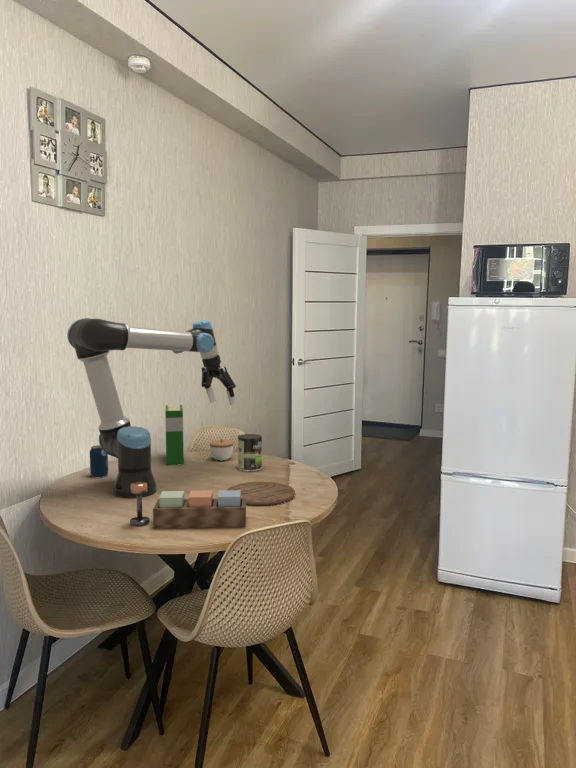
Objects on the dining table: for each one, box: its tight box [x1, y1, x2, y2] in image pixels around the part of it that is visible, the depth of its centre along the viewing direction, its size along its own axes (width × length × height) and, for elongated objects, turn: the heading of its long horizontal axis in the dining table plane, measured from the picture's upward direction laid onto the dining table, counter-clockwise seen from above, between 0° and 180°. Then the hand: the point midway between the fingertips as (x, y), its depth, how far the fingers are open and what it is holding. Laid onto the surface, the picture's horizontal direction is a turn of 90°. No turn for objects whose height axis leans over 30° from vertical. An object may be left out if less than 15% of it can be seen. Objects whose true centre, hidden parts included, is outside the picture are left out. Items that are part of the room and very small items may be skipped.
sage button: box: [158, 490, 186, 508], centre depth 179 cm, size 7×7×4 cm
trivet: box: [226, 481, 296, 507], centre depth 208 cm, size 25×25×2 cm
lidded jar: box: [209, 438, 234, 462], centre depth 261 cm, size 11×11×9 cm
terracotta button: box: [188, 490, 214, 507], centre depth 179 cm, size 7×7×4 cm
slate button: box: [217, 489, 241, 507], centre depth 180 cm, size 7×7×4 cm
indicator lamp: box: [129, 482, 151, 527], centre depth 178 cm, size 6×6×12 cm
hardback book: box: [165, 404, 185, 466], centre depth 258 cm, size 18×7×24 cm, turn 11°
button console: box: [152, 497, 247, 529], centre depth 180 cm, size 28×10×6 cm, turn 93°
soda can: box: [89, 444, 109, 478], centre depth 232 cm, size 7×7×12 cm
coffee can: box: [237, 433, 263, 472], centre depth 245 cm, size 10×10×14 cm
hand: (222, 402), depth 248 cm, fingers open, 13 cm apart
